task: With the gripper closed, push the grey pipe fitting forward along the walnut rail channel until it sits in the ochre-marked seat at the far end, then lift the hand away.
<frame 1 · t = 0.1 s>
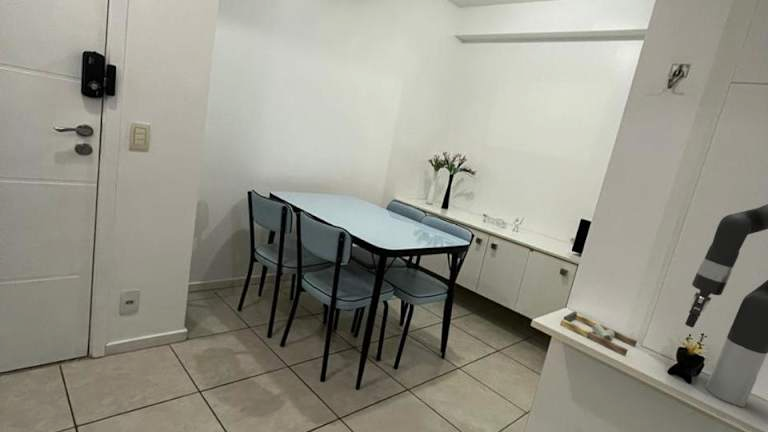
hand: (690, 323, 126), 17 cm above the table, tool pointing down, fingers open, 8 cm apart
rail: (597, 335, 145), on the table
pipe fitting: (604, 340, 144), on the table
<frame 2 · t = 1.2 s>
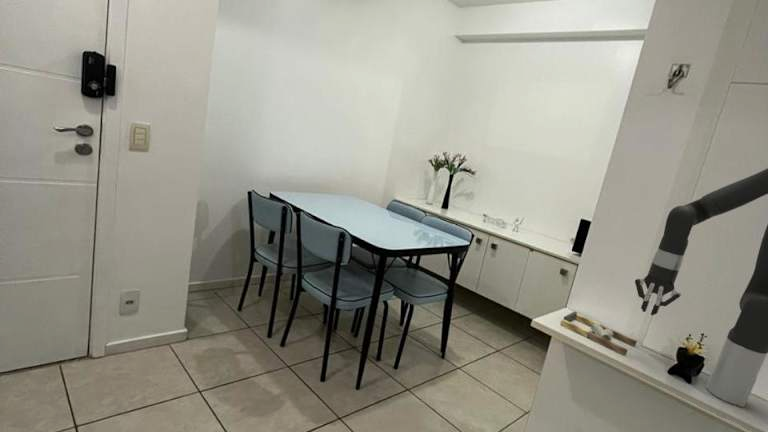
hand: (648, 312, 134), 15 cm above the table, tool pointing down, fingers closed
nothing on the table moved.
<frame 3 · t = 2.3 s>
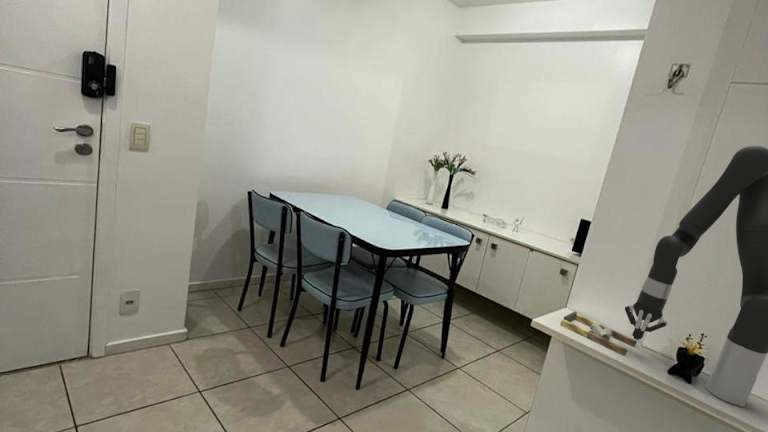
hand: (636, 338, 136), 5 cm above the table, tool pointing down, fingers closed
nothing on the table moved.
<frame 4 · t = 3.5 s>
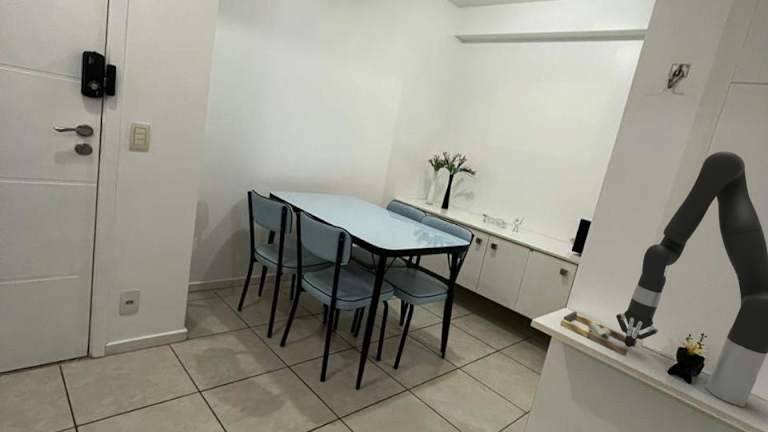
hand: (628, 346, 138), 1 cm above the table, tool pointing down, fingers closed
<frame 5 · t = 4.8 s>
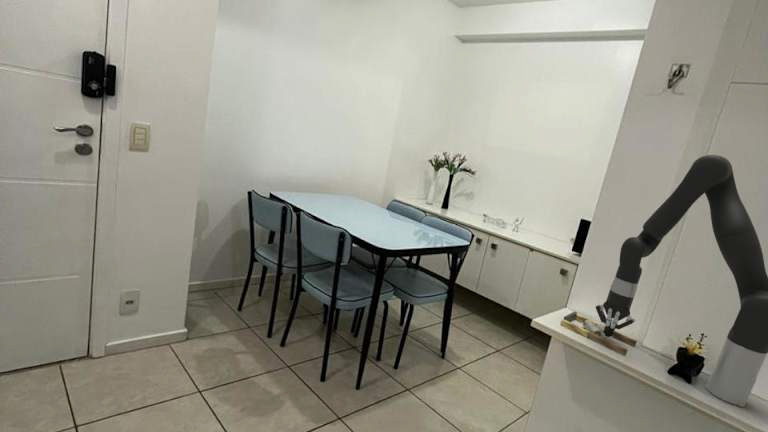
hand: (607, 336, 143), 1 cm above the table, tool pointing down, fingers closed
pipe fitting: (595, 335, 146), on the table, touching gripper
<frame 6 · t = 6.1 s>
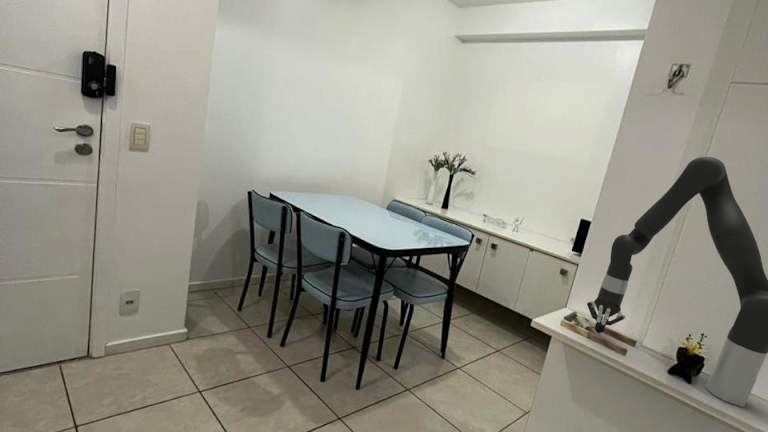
hand: (598, 332, 145), 1 cm above the table, tool pointing down, fingers closed
pipe fitting: (586, 331, 148), on the table
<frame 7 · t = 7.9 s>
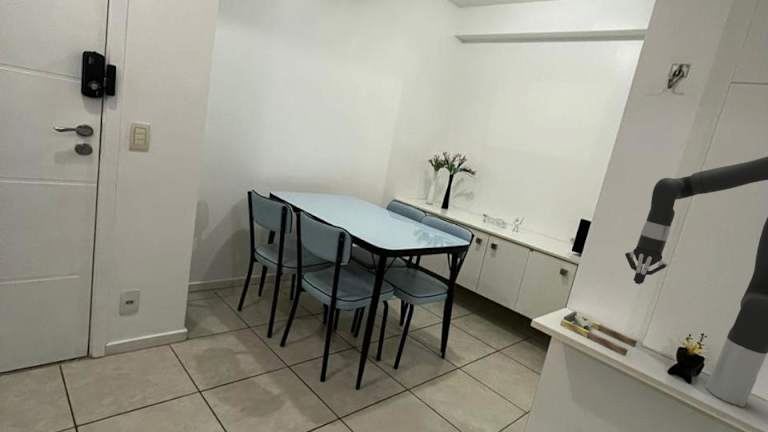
hand: (637, 283, 139), 23 cm above the table, tool pointing down, fingers closed
nothing on the table moved.
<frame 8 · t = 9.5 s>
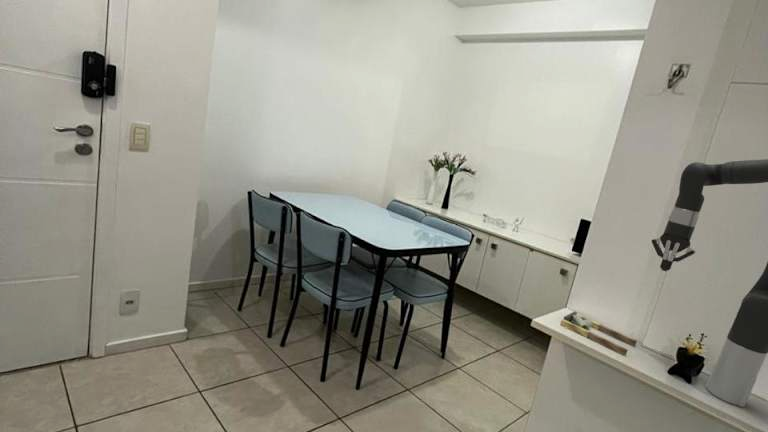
hand: (664, 270, 137), 29 cm above the table, tool pointing down, fingers closed
at the end: pipe fitting inside the target area (1.0 cm from its centre), on the table; pipe fitting moved 8.0 cm from its start; the gripper is holding nothing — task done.
